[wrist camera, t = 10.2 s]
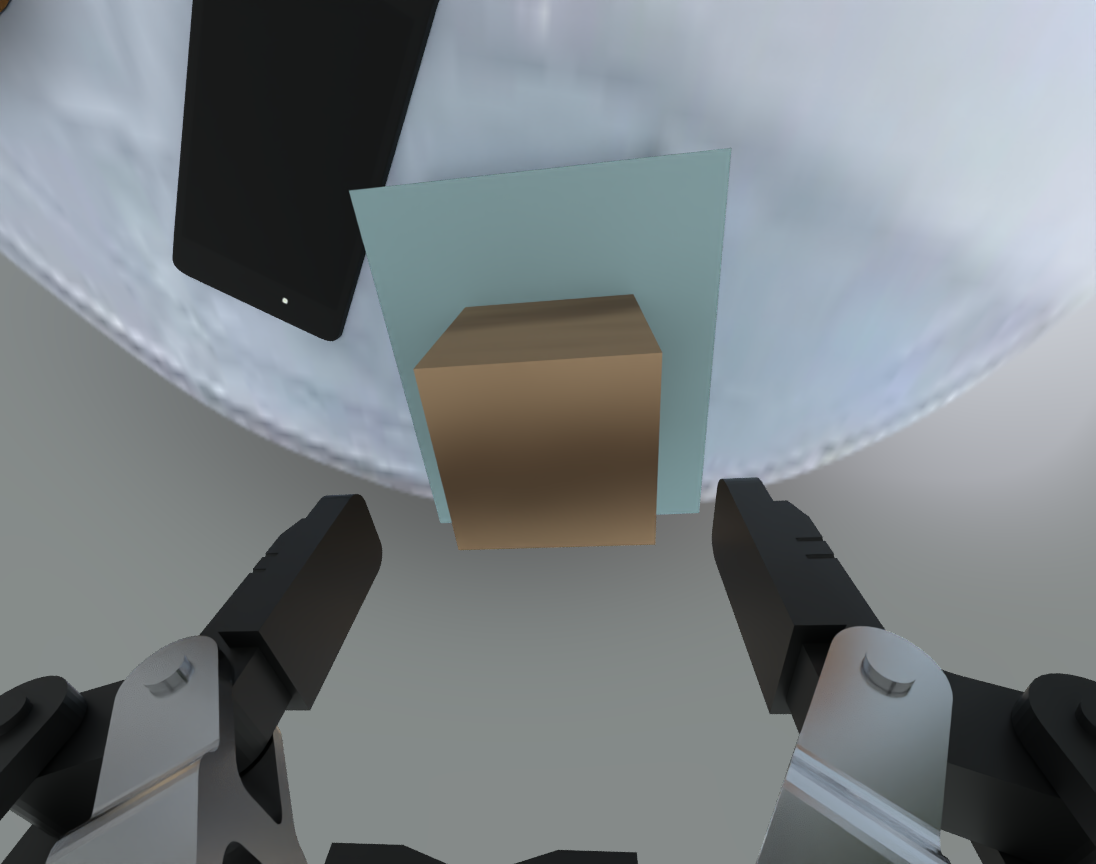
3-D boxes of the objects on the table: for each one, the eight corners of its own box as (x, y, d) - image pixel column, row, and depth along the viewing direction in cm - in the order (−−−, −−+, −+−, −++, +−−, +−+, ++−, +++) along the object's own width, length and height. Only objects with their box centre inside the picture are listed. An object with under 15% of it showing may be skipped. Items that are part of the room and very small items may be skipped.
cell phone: (456, -48, 18) (450, -59, 17) (342, 340, 26) (334, 345, 25) (227, -203, 16) (209, -223, 15) (183, 265, 24) (170, 268, 24)
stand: (421, 186, 21) (349, 190, 15) (678, 157, 20) (731, 147, 13) (473, 438, 28) (440, 522, 21) (667, 426, 27) (699, 512, 20)
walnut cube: (465, 307, 16) (413, 369, 11) (633, 293, 16) (662, 352, 10) (490, 448, 19) (458, 549, 14) (632, 441, 19) (655, 544, 13)
